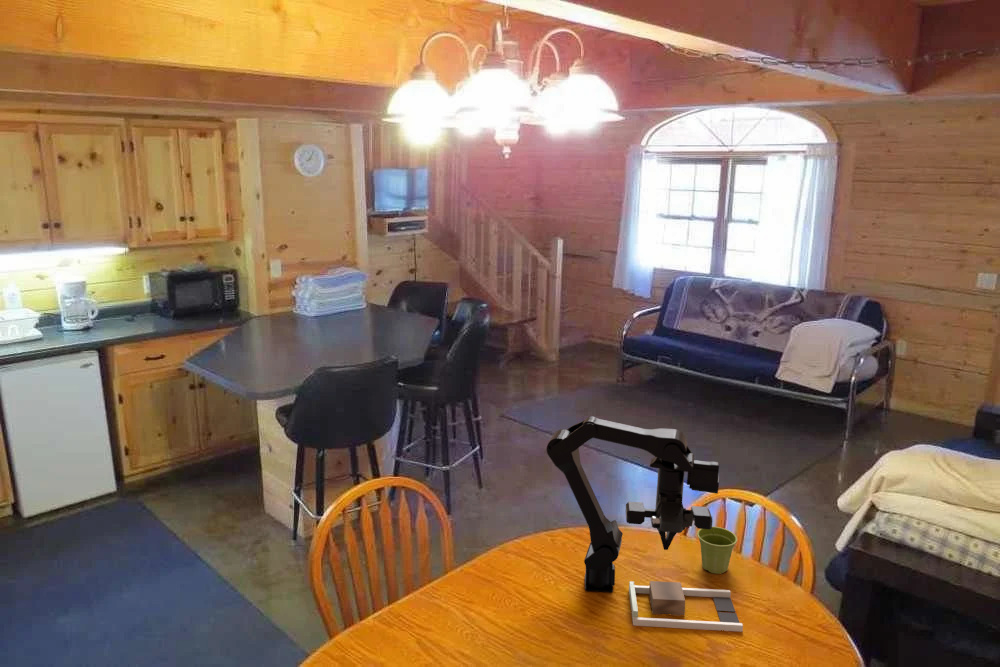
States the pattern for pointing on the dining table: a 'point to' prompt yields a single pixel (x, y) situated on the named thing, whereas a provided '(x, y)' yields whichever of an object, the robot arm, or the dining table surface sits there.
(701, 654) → the dining table surface
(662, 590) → the walnut block
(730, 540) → the plant pot
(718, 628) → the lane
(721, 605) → the pads
